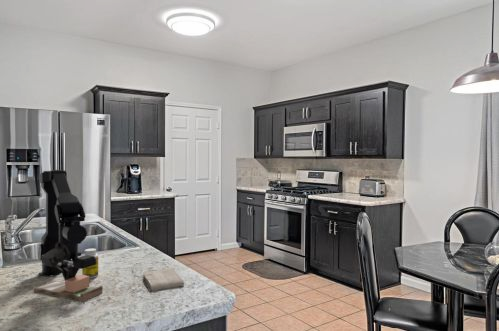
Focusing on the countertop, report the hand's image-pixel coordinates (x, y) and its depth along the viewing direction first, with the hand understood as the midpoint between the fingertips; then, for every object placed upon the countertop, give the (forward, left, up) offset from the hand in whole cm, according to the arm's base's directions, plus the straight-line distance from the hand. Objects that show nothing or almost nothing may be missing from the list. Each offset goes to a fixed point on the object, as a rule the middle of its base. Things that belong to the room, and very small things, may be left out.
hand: (68, 285), depth 120 cm
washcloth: (+21, +22, -3) cm, 31 cm away
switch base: (-1, 0, -2) cm, 2 cm away
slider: (+4, 0, -1) cm, 4 cm away
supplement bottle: (-7, +15, -2) cm, 17 cm away
